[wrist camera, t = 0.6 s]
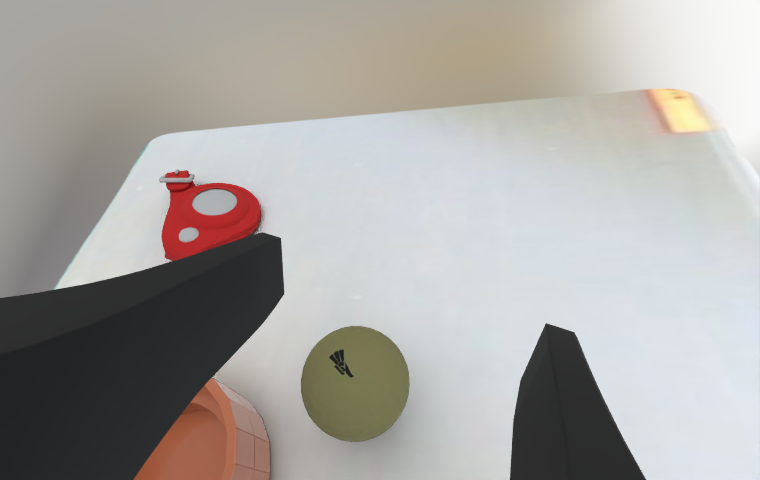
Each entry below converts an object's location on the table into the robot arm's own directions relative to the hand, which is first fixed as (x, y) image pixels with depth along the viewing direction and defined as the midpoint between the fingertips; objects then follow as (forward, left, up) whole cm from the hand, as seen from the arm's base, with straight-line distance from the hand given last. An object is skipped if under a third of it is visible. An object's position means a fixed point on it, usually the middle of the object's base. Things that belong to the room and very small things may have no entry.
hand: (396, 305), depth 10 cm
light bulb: (0, +3, -18) cm, 19 cm away
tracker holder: (+10, +26, -18) cm, 34 cm away
